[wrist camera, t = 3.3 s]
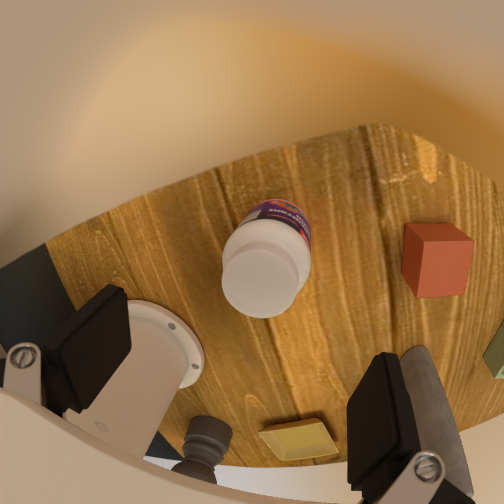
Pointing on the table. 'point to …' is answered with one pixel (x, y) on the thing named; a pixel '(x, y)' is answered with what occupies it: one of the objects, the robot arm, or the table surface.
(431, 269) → the block
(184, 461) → the candle holder
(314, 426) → the saucer
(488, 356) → the bin
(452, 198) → the table surface
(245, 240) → the pill bottle
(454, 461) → the hip flask
